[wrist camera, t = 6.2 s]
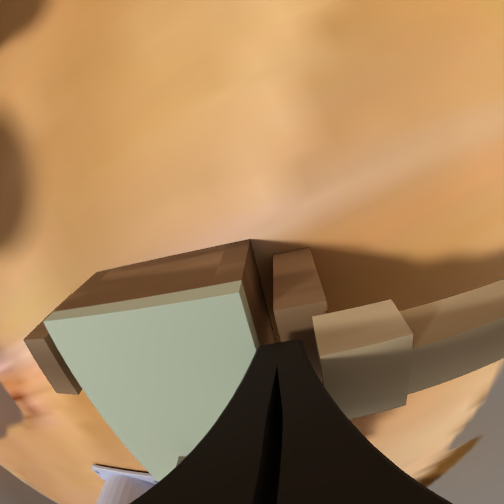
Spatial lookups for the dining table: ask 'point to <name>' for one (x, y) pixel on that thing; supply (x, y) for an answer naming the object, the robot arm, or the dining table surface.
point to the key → (406, 347)
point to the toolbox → (196, 276)
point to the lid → (160, 365)
